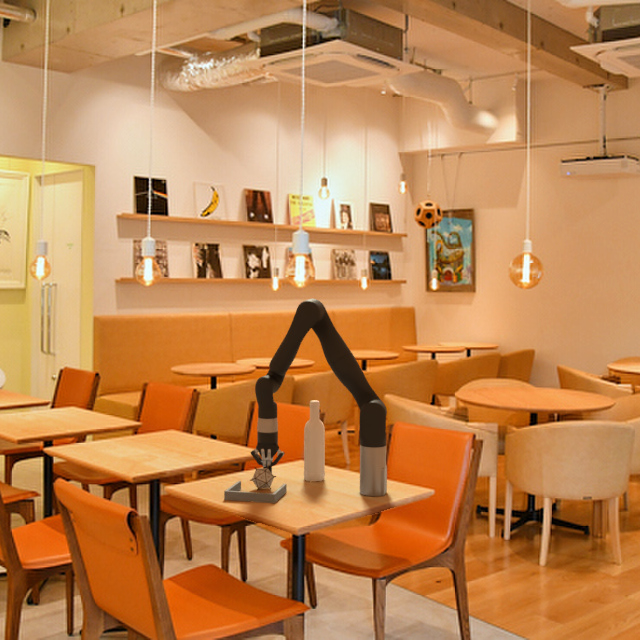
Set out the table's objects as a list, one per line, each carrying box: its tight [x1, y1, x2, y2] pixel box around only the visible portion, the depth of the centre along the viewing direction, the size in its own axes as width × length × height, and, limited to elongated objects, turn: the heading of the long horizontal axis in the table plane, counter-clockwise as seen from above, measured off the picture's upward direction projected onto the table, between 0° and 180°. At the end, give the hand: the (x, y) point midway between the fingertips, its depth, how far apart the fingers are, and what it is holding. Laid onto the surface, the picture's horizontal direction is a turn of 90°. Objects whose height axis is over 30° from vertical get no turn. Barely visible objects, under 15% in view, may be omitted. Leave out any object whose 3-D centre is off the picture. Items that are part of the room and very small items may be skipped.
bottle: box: [303, 399, 326, 482], centre depth 318 cm, size 8×8×30 cm
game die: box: [249, 466, 277, 491], centre depth 303 cm, size 9×8×10 cm
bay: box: [223, 480, 288, 504], centre depth 294 cm, size 18×15×3 cm
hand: (267, 476), depth 307 cm, fingers closed
